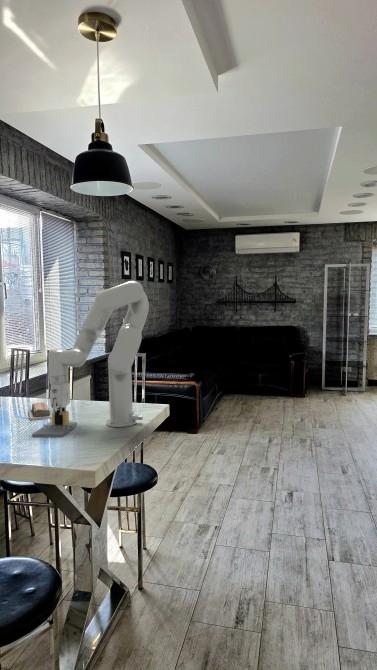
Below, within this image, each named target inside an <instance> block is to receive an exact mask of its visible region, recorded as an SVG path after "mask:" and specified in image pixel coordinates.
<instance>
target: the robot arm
mask: <svg viewBox="0 0 377 670" xmlns="http://www.w3.org/2000/svg"><path fill="white" fill-rule="evenodd" d="M127 305H128V308H127V312H126V314H125V318H124V320H123V323H122V325H121V328H120V329H119V331H118V333H117V336H116V340H115V342H114V345H113V347H112V350H111V352H110V353H109V355H108V358H107V363H108V364H107V365H108V366H107V369H108V397H109V419H107V420H106V422H105V423H106V424H105V425H107V426H108V427H111V428H123V427H124V428H125V427H130V426H134V425H135V424H137V421H143V420H144V418H143V417H144V416H143V414H136V413H135V411H134V410H133V383H132V382H133V380H132V378H133V376H132V366H133V364H134V362H135V359H136V357H137V354H138V351H139V349H140V346H141V343H142V339H143V338H142V336H143V335H142V331H143V330H144V326H145V324H146V320H147V318H148V314H149V309H150V304H149V299H148V296H147V294H146V293H145V291H144V287H143V285H142V284H141V283H140V282H139V281H136V280H130V281H127V282H124V283H122V284H119V285H115V286H113V287H110V288H107V289H103V290H101V291H99V292H98V293H97V294H96V295H95V298H94V301H93V303H92V304H91V307H90V309H89V311H88V313H87V315H86V317H85V319H84V320H83V323H82V325H81V329H80V332H79V334H78V336H77V338H76V339H75V340H76V341H75V342H74V344H73V346H72V348H71V349H68V350H67V349H64V348H53V349H50V350H49V351H48V375H49V377H48V378H49V384H50V394H49V395H50V399H49V400H50V407H51V408H52V410H51V412H54V415H55V425H62V424H63V415H62V411H67V406H69V405H70V403H71V396H70V386H69V367H70V368H80V367H82V366H84V364H85V363H86V362H87V359H88V357H89V356H90V353H91V352H92V350H93V348H94V346H95V344H96V342H97V340H98V339H99V337H100V336H101V334H102V332H103V331H104V329H105V327H106V325H107V323H108V321H109V319H110V317H111V315H112V313H113V311H114V310H117V309H120V308H122V307H125V306H127Z"/></svg>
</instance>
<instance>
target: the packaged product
mask: <svg viewBox="0 0 377 670" xmlns="http://www.w3.org/2000/svg"><path fill="white" fill-rule="evenodd" d="M27 412H28V417H29V421H31V422H32V421H41V420H52V410H51V409H50V408H49V406H48V404H47V403H46V402H36V403H32V404H31V409H28V410H27Z"/></svg>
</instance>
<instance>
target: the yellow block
mask: <svg viewBox="0 0 377 670" xmlns="http://www.w3.org/2000/svg"><path fill="white" fill-rule="evenodd" d="M51 413H52V419H51V421H49V422H47V423H46V424H45V425H43V427H72V430H73V429H74V428H76V427H77V426H78V422H77V421H70V416H69V415H70V412H69V411H68V410H66V411H62V415H63V424H62V425H55V415H54V412H53V411H51Z"/></svg>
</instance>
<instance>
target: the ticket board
mask: <svg viewBox="0 0 377 670" xmlns="http://www.w3.org/2000/svg"><path fill="white" fill-rule="evenodd" d="M72 430H73V429H72V427H44V426H42V427H40V428H39V429H38V430H36V431H35V432H33V433H32V434H31V437H32V438H64V437H65V436H66V435H68V434H69V433H70V432H71V431H72Z"/></svg>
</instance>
